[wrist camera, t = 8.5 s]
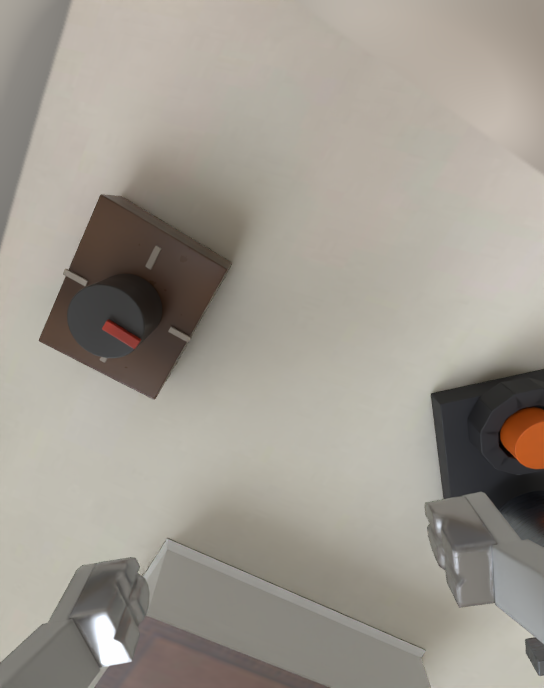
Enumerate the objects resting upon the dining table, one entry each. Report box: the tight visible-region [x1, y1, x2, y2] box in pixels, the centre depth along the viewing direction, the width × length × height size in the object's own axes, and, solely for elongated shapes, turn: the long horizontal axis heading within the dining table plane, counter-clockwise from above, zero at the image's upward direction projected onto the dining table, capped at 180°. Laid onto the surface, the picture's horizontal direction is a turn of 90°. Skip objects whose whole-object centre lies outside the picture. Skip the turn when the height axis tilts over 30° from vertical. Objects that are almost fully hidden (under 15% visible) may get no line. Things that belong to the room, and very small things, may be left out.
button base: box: [431, 369, 544, 510], centre depth 28 cm, size 15×10×4 cm
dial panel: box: [39, 194, 232, 399], centre depth 24 cm, size 10×8×3 cm
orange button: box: [500, 407, 544, 469], centre depth 25 cm, size 4×4×2 cm
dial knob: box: [67, 274, 162, 358], centre depth 21 cm, size 4×4×4 cm
